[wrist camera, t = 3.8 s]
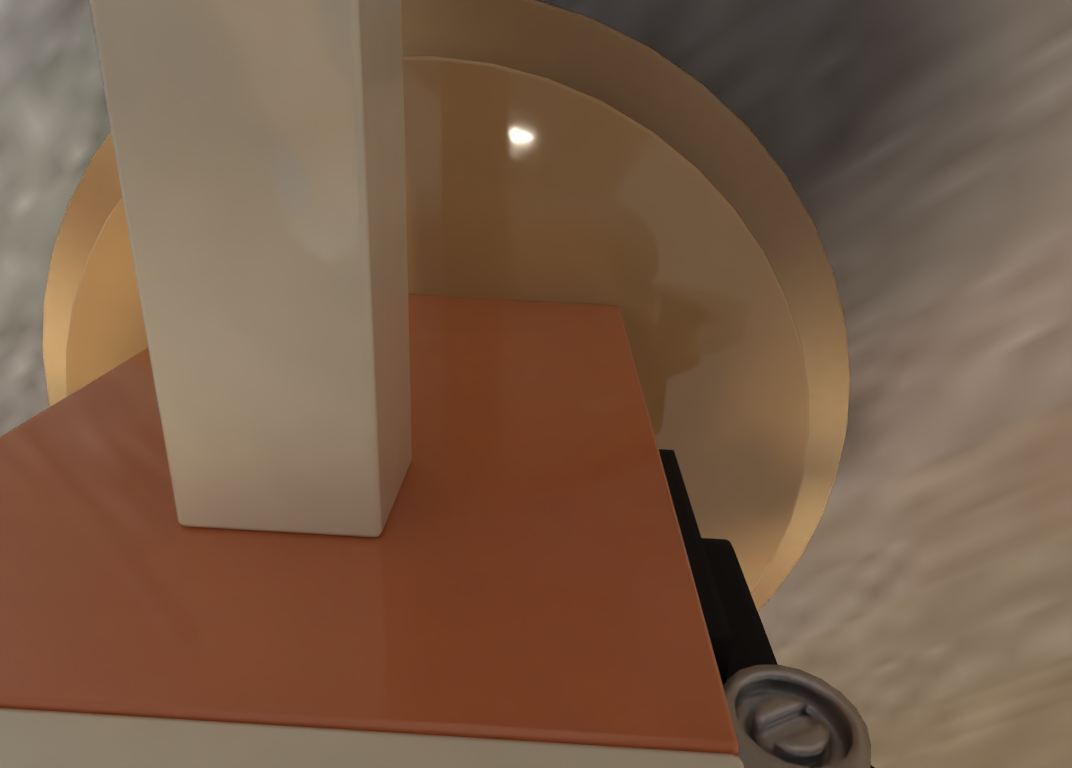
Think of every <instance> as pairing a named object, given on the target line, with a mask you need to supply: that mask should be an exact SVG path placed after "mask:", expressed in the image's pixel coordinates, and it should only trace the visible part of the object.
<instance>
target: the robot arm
mask: <svg viewBox="0 0 1072 768" xmlns="http://www.w3.org/2000/svg"><path fill="white" fill-rule="evenodd" d="M659 453H660V457H661V460H662V464H663V468H664V471H665V475H666V479H667V482H668V486H669V490H670V493H671V497H672V501H673V504H674V508H675V512H676V515H677V519H678V523H679V526H680V530H681V534H682V537H683V541H684V545H685V548H686V552H687V556H688V559H689V563H690V567H691V570H692V574H693V578H694V581H695V585H696V589H697V592H698V596H699V600H700V603H701V607H702V611H703V614H704V618H705V622H706V625H707V629H708V633H709V636H710V640H711V644H712V647H713V651H714V655H715V658H716V662H717V666H718V669H719V673H720V677H721V680H722V684H723V688H724V691H725V695H726V699H727V702H728V706H729V710H730V713H731V717H732V721H733V724H734V728H735V732H736V735H737V739H738V743H739V746H740V750H739V754H738V757H739V758H740V759H741V761H742V762H743V765H744V768H874V767H873V766H871V744H870V739H869V734H868V729H867V726H866V724H865V722H864V721H863V719H862V717H861V715H860V714H859V712H858V710H857V709H856V708H855V707H854V705H853V704H852V703H851V702H850V701H849V700H848V699H847V698H846V697H845V696H844V695H843V694H842V693H841V692H840V691H838V690H837V689H835V688H834V687H832V686H831V685H829V684H828V683H826V682H825V681H823V680H822V679H820V678H818V677H816V676H813V675H811V674H809V673H806V672H804V671H802V670H800V669H795V668H791V667H786V666H782V665H778V664H777V662H776V659H775V657H774V654H773V651H772V649H771V646H770V643H769V641H768V638H767V635H766V633H765V630H764V627H763V625H762V622H761V619H760V617H759V614H758V612H757V609H756V606H755V604H754V601H753V598H752V596H751V593H750V590H749V588H748V585H747V582H746V580H745V577H744V574H743V572H742V569H741V567H740V564H739V561H738V559H737V556H736V553H735V551H734V548H733V546H732V544H731V542H730V541H728V540H726V539H712V538H701V535H700V532H699V528H698V525H697V522H696V519H695V516H694V512H693V509H692V506H691V503H690V500H689V497H688V493H687V490H686V487H685V484H684V481H683V477H682V474H681V471H680V468H679V465H678V462H677V458H676V455H675V452H674V450H666V449H659Z"/></svg>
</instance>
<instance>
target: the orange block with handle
mask: <svg viewBox="0 0 1072 768" xmlns="http://www.w3.org/2000/svg"><path fill="white" fill-rule="evenodd" d="M89 4H90V10H91V16H92V22H93V28H94V34H95V39H96V45H97V51H98V57H99V63H100V68H101V74H102V80H103V86H104V92H105V98H106V103H107V109H108V115H109V121H110V127H111V133H112V138H113V144H114V150H115V156H116V162H117V168H118V173H119V179H120V185H121V191H122V197H121V199H120V200H119V201H118V203H117V204H116V206H115V207H114V208H113V210H112V211H111V213H110V214H109V216H108V217H107V219H106V221H105V223H104V225H103V227H102V229H101V231H100V233H99V235H98V237H97V239H96V241H95V243H94V246H93V248H92V250H91V252H90V254H89V256H88V258H87V260H86V262H85V266H84V269H83V272H82V276H81V279H80V282H79V285H78V289H77V292H76V295H75V299H74V302H73V305H72V312H71V319H70V326H69V333H68V340H67V348H66V394H67V397H65V398H64V399H62V400H60V401H59V402H57V403H55V404H54V405H52V406H50V407H49V408H47V409H45V410H44V411H42V412H40V413H39V414H37V415H36V416H34V417H32V418H31V419H29V420H27V421H26V422H24V423H22V424H21V425H19V426H17V427H16V428H14V429H12V430H11V431H9V432H7V433H6V434H4V435H3V436H1V437H0V768H744V765H743V762H742V761H741V759H740V758H739V757H738V754H739V750H740V746H739V743H738V739H737V735H736V732H735V728H734V724H733V721H732V717H731V713H730V710H729V706H728V702H727V699H726V695H725V691H724V688H723V684H722V680H721V677H720V673H719V669H718V666H717V662H716V658H715V655H714V651H713V647H712V644H711V640H710V636H709V633H708V629H707V625H706V622H705V618H704V614H703V611H702V607H701V603H700V600H699V596H698V592H697V589H696V585H695V581H694V578H693V574H692V570H691V567H690V563H689V559H688V556H687V552H686V548H685V545H684V541H683V537H682V534H681V530H680V526H679V523H678V519H677V515H676V512H675V508H674V504H673V501H672V497H671V493H670V490H669V486H668V482H667V479H666V475H665V471H664V468H663V464H662V460H661V457H660V453H659V449H666V450H674V452H675V455H676V458H677V462H678V465H679V468H680V471H681V474H682V477H683V481H684V484H685V487H686V490H687V493H688V497H689V500H690V503H691V506H692V509H693V512H694V516H695V519H696V522H697V525H698V528H699V532H700V535H701V538H712V539H726V540H728V541H730V542H731V544H732V546H733V548H734V551H735V553H736V556H737V559H738V561H739V564H740V567H741V569H742V572H743V574H744V577H745V580H746V582H747V585H748V588H749V590H750V593H751V594H752V592H753V590H754V589H755V587H756V586H757V584H758V583H759V581H760V579H761V578H762V576H763V575H764V573H765V572H766V570H767V568H768V567H769V565H770V564H771V562H772V561H773V559H774V557H775V555H776V552H777V550H778V548H779V546H780V544H781V541H782V539H783V537H784V535H785V533H786V530H787V528H788V526H789V524H790V522H791V519H792V515H793V512H794V508H795V505H796V501H797V498H798V495H799V491H800V488H801V484H802V481H803V475H804V468H805V461H806V454H807V447H808V440H809V389H808V383H807V376H806V370H805V364H804V357H803V351H802V345H801V341H800V338H799V335H798V332H797V329H796V325H795V322H794V319H793V316H792V313H791V309H790V306H789V303H788V300H787V297H786V295H785V293H784V291H783V289H782V287H781V285H780V283H779V281H778V279H777V276H776V274H775V272H774V270H773V268H772V266H771V264H770V262H769V260H768V258H767V256H766V254H765V252H764V250H763V249H762V247H761V246H760V244H759V243H758V242H757V240H756V239H755V237H754V236H753V234H752V233H751V231H750V230H749V228H748V227H747V225H746V224H745V222H744V221H743V220H742V218H741V217H740V215H739V214H738V212H737V211H736V209H735V208H734V207H733V206H732V205H731V203H730V202H729V201H728V200H727V199H726V198H725V197H724V196H723V195H722V194H721V193H720V191H719V190H718V189H717V188H716V187H715V186H714V185H713V184H712V183H711V182H710V181H709V180H708V178H707V177H706V176H705V175H704V174H703V173H702V172H701V171H700V170H699V169H698V168H697V167H696V166H695V165H694V164H693V163H691V162H690V161H689V160H688V159H687V158H685V157H684V156H683V155H682V154H680V153H679V152H678V151H677V150H676V149H674V148H673V147H672V146H671V145H669V144H668V143H667V142H666V141H664V140H663V139H662V138H661V137H660V136H658V135H657V134H656V133H655V132H653V131H652V130H650V129H649V128H647V127H645V126H644V125H642V124H640V123H639V122H637V121H635V120H634V119H632V118H630V117H629V116H627V115H625V114H624V113H622V112H620V111H619V110H617V109H616V108H614V107H612V106H611V105H609V104H607V103H606V102H604V101H602V100H599V99H597V98H595V97H592V96H590V95H588V94H585V93H583V92H581V91H578V90H576V89H574V88H571V87H569V86H567V85H564V84H562V83H560V82H557V81H555V80H553V79H550V78H547V77H544V76H540V75H536V74H533V73H529V72H525V71H521V70H518V69H514V68H510V67H507V66H503V65H499V64H495V63H492V62H484V61H476V60H467V59H459V58H451V57H443V56H434V55H421V56H403V53H402V10H401V0H89Z"/></svg>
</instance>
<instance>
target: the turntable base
mask: <svg viewBox="0 0 1072 768" xmlns="http://www.w3.org/2000/svg"><path fill="white" fill-rule="evenodd" d="M401 10H402V53H403V56H421V55H434V56H443V57H451V58H459V59H467V60H476V61H484V62H492V63H495V64H499V65H503V66H507V67H510V68H514V69H518V70H521V71H525V72H529V73H533V74H536V75H540V76H544V77H547V78H550V79H553V80H555V81H557V82H560V83H562V84H564V85H567V86H569V87H571V88H574V89H576V90H578V91H581V92H583V93H585V94H588V95H590V96H592V97H595V98H597V99H599V100H602V101H604V102H606V103H607V104H609V105H611V106H612V107H614V108H616V109H617V110H619V111H620V112H622V113H624V114H625V115H627V116H629V117H630V118H632V119H634V120H635V121H637V122H639V123H640V124H642V125H644V126H645V127H647V128H649V129H650V130H652V131H653V132H655V133H656V134H657V135H658V136H660V137H661V138H662V139H663V140H664V141H666V142H667V143H668V144H669V145H671V146H672V147H673V148H674V149H676V150H677V151H678V152H679V153H680V154H682V155H683V156H684V157H685V158H687V159H688V160H689V161H690V162H691V163H693V164H694V165H695V166H696V167H697V168H698V169H699V170H700V171H701V172H702V173H703V174H704V175H705V176H706V177H707V178H708V180H709V181H710V182H711V183H712V184H713V185H714V186H715V187H716V188H717V189H718V190H719V191H720V193H721V194H722V195H723V196H724V197H725V198H726V199H727V200H728V201H729V202H730V203H731V205H732V206H733V207H734V208H735V209H736V211H737V212H738V214H739V215H740V217H741V218H742V220H743V221H744V222H745V224H746V225H747V227H748V228H749V230H750V231H751V233H752V234H753V236H754V237H755V239H756V240H757V242H758V243H759V244H760V246H761V247H762V249H763V250H764V252H765V254H766V256H767V258H768V260H769V262H770V264H771V266H772V268H773V270H774V272H775V274H776V276H777V279H778V281H779V283H780V285H781V287H782V289H783V291H784V293H785V295H786V297H787V300H788V303H789V306H790V309H791V313H792V316H793V319H794V322H795V325H796V329H797V332H798V335H799V338H800V341H801V345H802V351H803V357H804V364H805V370H806V376H807V383H808V389H809V440H808V447H807V454H806V461H805V468H804V475H803V481H802V484H801V488H800V491H799V495H798V498H797V501H796V505H795V508H794V512H793V515H792V519H791V522H790V524H789V526H788V528H787V530H786V533H785V535H784V537H783V539H782V541H781V544H780V546H779V548H778V550H777V552H776V555H775V557H774V559H773V561H772V562H771V564H770V565H769V567H768V568H767V570H766V572H765V573H764V575H763V576H762V578H761V579H760V581H759V583H758V584H757V586H756V587H755V589H754V590H753V592H752V594H751V596H752V598H753V601H754V604H755V606H756V609H757V612H758V611H759V610H760V609H761V608H762V607H763V606H764V604H765V603H766V602H767V601H768V600H769V599H770V598H771V597H772V596H773V595H774V594H775V592H776V591H777V589H778V588H779V587H780V585H781V584H782V582H783V581H784V580H785V578H786V577H787V575H788V574H789V573H790V571H791V570H792V568H793V567H794V566H795V564H796V563H797V561H798V560H799V559H800V557H801V555H802V553H803V551H804V549H805V548H806V546H807V544H808V542H809V540H810V538H811V536H812V534H813V533H814V531H815V529H816V527H817V525H818V523H819V521H820V519H821V517H822V514H823V512H824V509H825V506H826V504H827V501H828V498H829V495H830V493H831V490H832V487H833V484H834V482H835V479H836V476H837V473H838V468H839V463H840V458H841V454H842V449H843V444H844V440H845V435H846V430H847V421H848V405H849V390H850V368H849V356H848V344H847V332H846V324H845V320H844V315H843V311H842V307H841V303H840V298H839V294H838V290H837V286H836V281H835V277H834V273H833V271H832V268H831V266H830V263H829V261H828V258H827V256H826V253H825V251H824V248H823V246H822V243H821V241H820V238H819V236H818V233H817V231H816V228H815V226H814V223H813V221H812V220H811V218H810V216H809V214H808V213H807V211H806V209H805V208H804V206H803V204H802V202H801V201H800V199H799V197H798V195H797V194H796V192H795V190H794V189H793V187H792V185H791V183H790V182H789V180H788V178H787V177H786V175H785V173H784V172H783V170H782V169H781V168H780V167H779V165H778V164H777V163H776V162H775V160H774V159H773V158H772V157H771V155H770V154H769V153H768V152H767V150H766V149H765V148H764V147H763V145H762V144H761V143H760V142H759V140H758V139H757V138H756V137H755V135H754V134H753V133H752V132H751V130H750V129H749V128H748V127H747V125H746V124H744V123H743V122H742V121H741V120H740V119H739V118H738V117H737V116H736V115H735V114H734V113H733V112H732V111H731V110H729V109H728V108H727V107H726V106H725V105H724V104H723V103H722V102H721V101H720V100H719V99H718V98H717V97H716V96H715V95H713V94H712V93H711V92H710V91H709V90H708V89H707V88H706V87H705V86H704V85H703V84H702V83H700V82H699V81H697V80H696V79H695V78H693V77H692V76H690V75H689V74H687V73H686V72H684V71H683V70H682V69H680V68H679V67H677V66H676V65H674V64H673V63H672V62H670V61H669V60H667V59H666V58H664V57H663V56H661V55H660V54H659V53H657V52H656V51H654V50H653V49H651V48H650V47H648V46H646V45H644V44H642V43H640V42H638V41H636V40H634V39H632V38H630V37H628V36H626V35H624V34H622V33H620V32H618V31H616V30H614V29H612V28H610V27H608V26H606V25H604V24H602V23H600V22H598V21H596V20H594V19H592V18H590V17H586V16H583V15H580V14H577V13H574V12H571V11H568V10H565V9H562V8H559V7H556V6H553V5H550V4H547V3H544V2H541V1H538V0H401ZM121 197H122V191H121V185H120V179H119V173H118V168H117V162H116V156H115V150H114V144H113V138H112V133H110V134H109V136H108V137H107V138H106V139H105V141H104V142H103V143H102V145H101V146H100V147H99V149H98V150H97V151H96V153H95V154H94V156H93V158H92V160H91V162H90V163H89V165H88V167H87V169H86V171H85V173H84V175H83V177H82V179H81V180H80V182H79V184H78V186H77V188H76V190H75V192H74V194H73V196H72V198H71V199H70V201H69V204H68V207H67V210H66V213H65V216H64V219H63V222H62V225H61V227H60V230H59V233H58V236H57V239H56V242H55V245H54V248H53V251H52V257H51V262H50V268H49V274H48V280H47V285H46V291H45V297H44V312H43V358H44V367H45V375H46V384H47V392H48V400H49V404H50V406H52V405H54V404H55V403H57V402H59V401H60V400H62V399H64V398H65V397H67V394H66V348H67V340H68V333H69V326H70V319H71V312H72V305H73V302H74V299H75V295H76V292H77V289H78V285H79V282H80V279H81V276H82V272H83V269H84V266H85V262H86V260H87V258H88V256H89V254H90V252H91V250H92V248H93V246H94V243H95V241H96V239H97V237H98V235H99V233H100V231H101V229H102V227H103V225H104V223H105V221H106V219H107V217H108V216H109V214H110V213H111V211H112V210H113V208H114V207H115V206H116V204H117V203H118V201H119V200H120V199H121Z"/></svg>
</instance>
